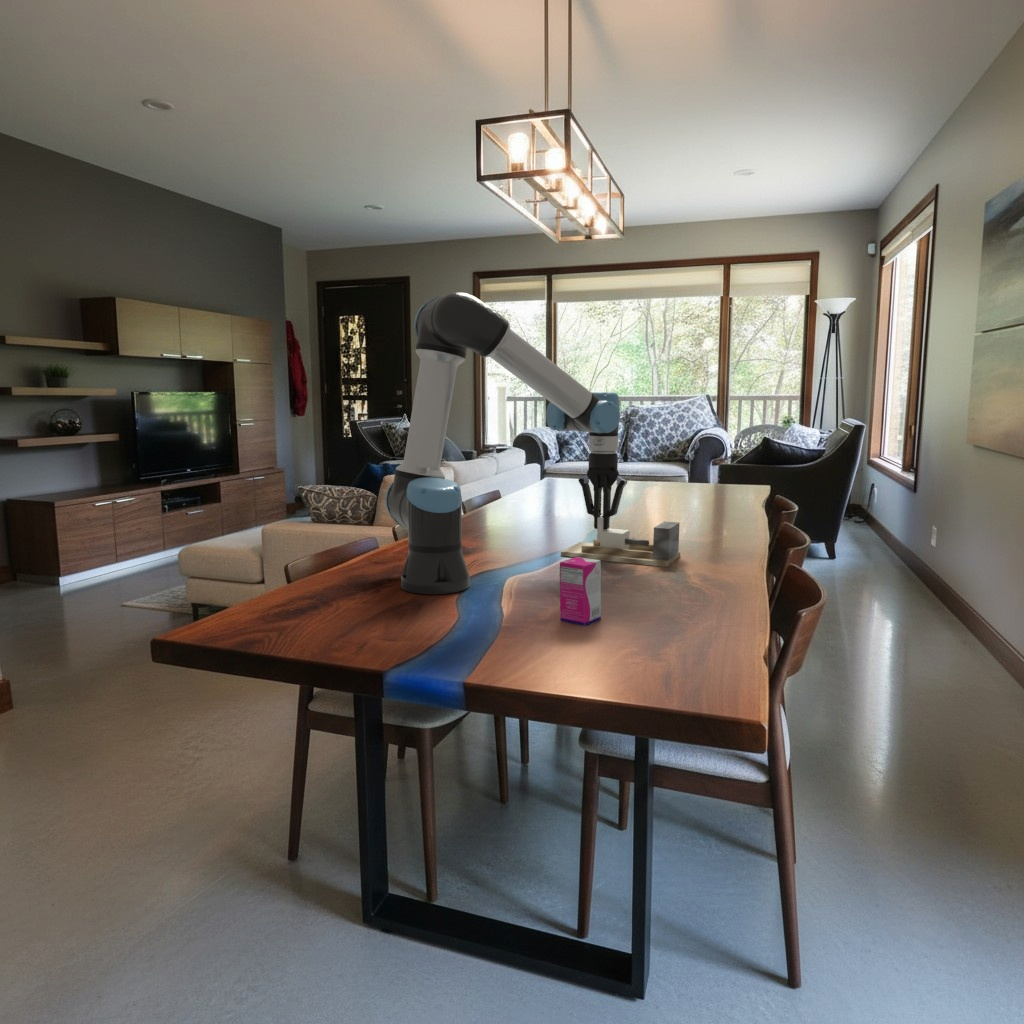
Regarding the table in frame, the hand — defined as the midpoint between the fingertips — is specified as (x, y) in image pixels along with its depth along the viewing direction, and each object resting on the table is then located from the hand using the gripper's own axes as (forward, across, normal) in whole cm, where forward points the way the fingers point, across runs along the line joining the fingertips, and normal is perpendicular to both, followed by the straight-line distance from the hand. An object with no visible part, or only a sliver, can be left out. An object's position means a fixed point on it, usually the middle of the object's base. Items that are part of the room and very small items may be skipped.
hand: (601, 541), depth 199 cm
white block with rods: (+2, +7, +2) cm, 7 cm away
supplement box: (+4, +16, -57) cm, 59 cm away
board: (+3, +5, 0) cm, 6 cm away
